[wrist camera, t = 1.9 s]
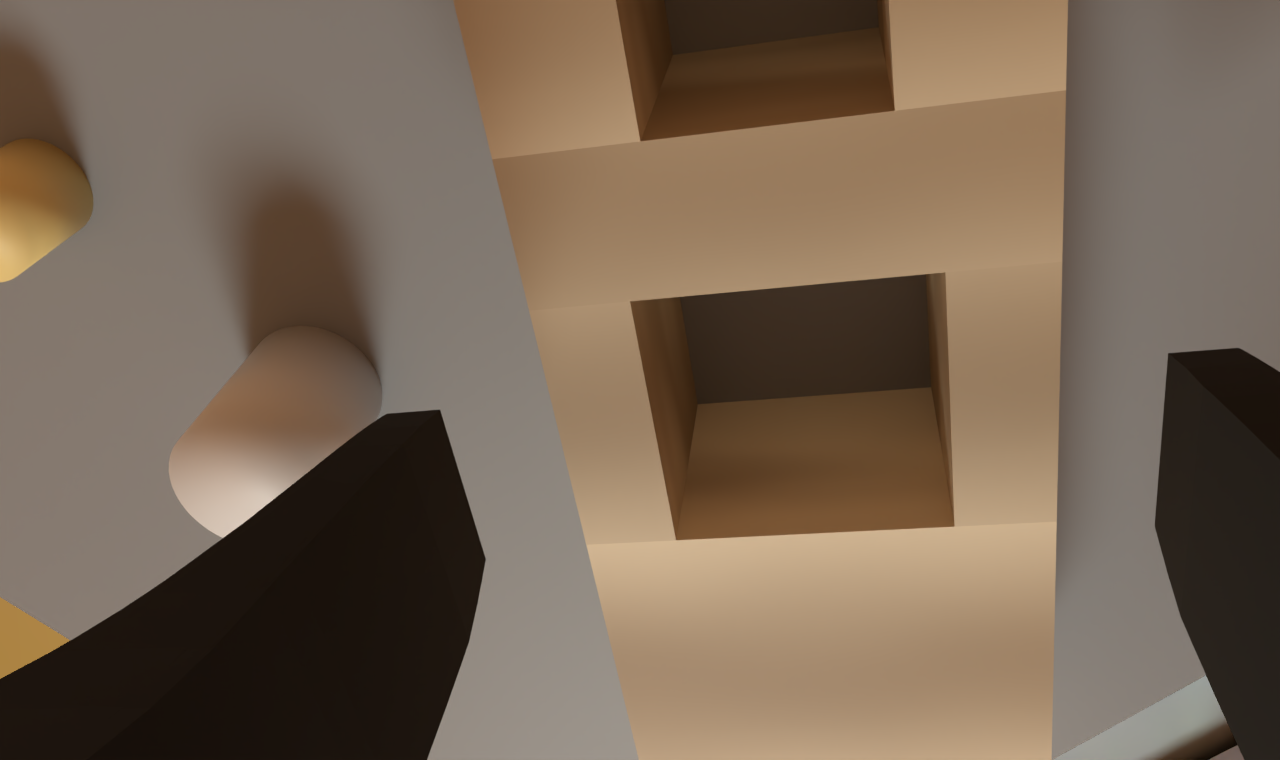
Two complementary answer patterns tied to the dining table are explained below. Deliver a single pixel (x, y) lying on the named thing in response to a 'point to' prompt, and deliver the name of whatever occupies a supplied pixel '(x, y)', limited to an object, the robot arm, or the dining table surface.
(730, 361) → the board
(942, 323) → the tan block
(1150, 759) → the dining table surface
